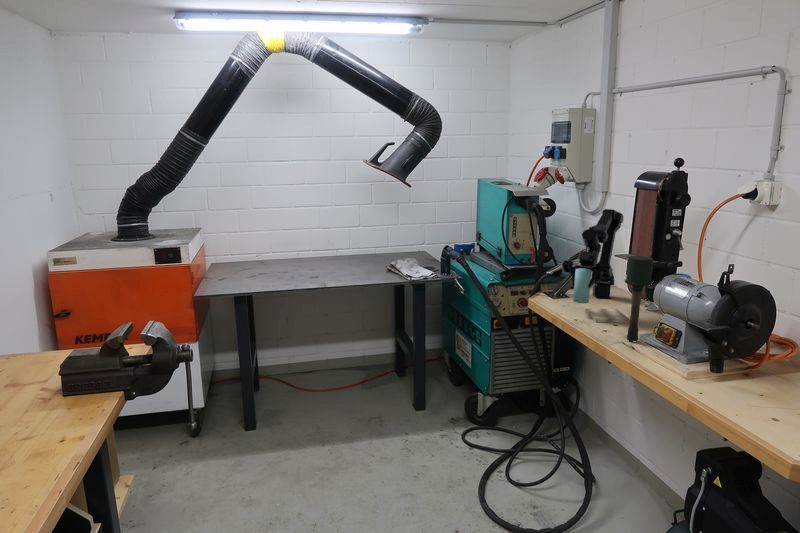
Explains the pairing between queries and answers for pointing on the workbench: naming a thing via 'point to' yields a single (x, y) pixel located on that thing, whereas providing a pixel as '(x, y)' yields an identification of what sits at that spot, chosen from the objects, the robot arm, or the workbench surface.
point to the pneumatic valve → (650, 305)
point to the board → (606, 315)
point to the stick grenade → (637, 288)
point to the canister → (582, 285)
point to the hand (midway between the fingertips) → (581, 286)
